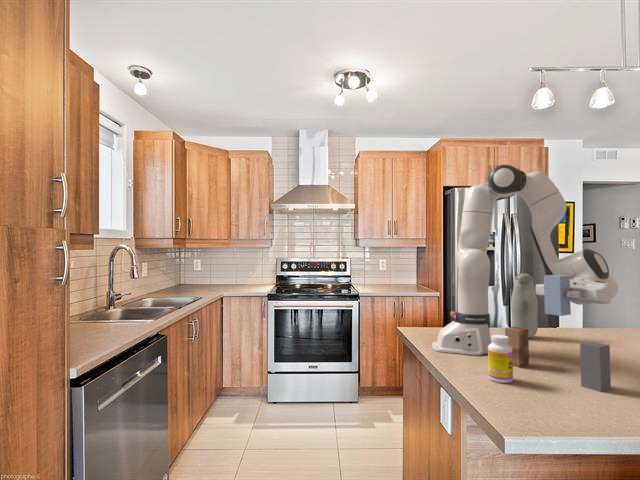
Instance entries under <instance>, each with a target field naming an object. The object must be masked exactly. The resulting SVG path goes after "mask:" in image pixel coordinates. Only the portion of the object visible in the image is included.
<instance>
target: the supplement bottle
mask: <svg viewBox="0 0 640 480" xmlns="http://www.w3.org/2000/svg"><path fill="white" fill-rule="evenodd" d="M490 338H491V344H489V346H488V353H487V368H488V369H487V372H488V373H487V376H488V379H489V380H490V381H492V382H495V383H499V384H509V383H512V382H513V379H514V366H513V352H512V348H511V346H509V345H508V341H509V337H507V336H505V334H492V335H490Z"/></svg>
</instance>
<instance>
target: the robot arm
mask: <svg viewBox="0 0 640 480" xmlns="http://www.w3.org/2000/svg"><path fill="white" fill-rule="evenodd" d="M515 195H517V196H519V197H521V199H523V201H524V202H525V203H526V205H527V207H528V208H529V211H530V214H531V223H530V225H529V226H530V227H529V229H530V233H531V236H532V238H533V241H534V244H535V247H536V249H537V251H538V255H539V257H540V260H541V262H542V266H543V269H544V274H545V275H566V276H570V291H564V297H570V303H573V304H574V305H591V304H602V305H603V304H607V305H608V304H611V301H612V299H613V298H614V297H616V295H617V294H618V290H619V284H618V283H617V281H616V280H615V279H614V278H613V277H611V276H610V274H609V273H610V269H609V266H608V263H607V261H606V260H605V258H604V257H603V256H602V254H600V253H599V252H597V251H595V250H592V249H588V248H584V249H582V250H578V251H577V252H574V253H572V254H570V255H567V256H564V257H561V258H559V257H558V255H557V253H556V250H555V247H554V244H553V242H552V239H551V234H552V231H553V229H554V228H555V227H556V226H557V225H558V224H559V223H560V222H561V221H562V219H563V218H564V216H565V214H566V212H567V203H566V200H565V198H564V196H563V195H562V193H561V192H560V190H559V188H558V187H557V186H556V184H555V182H553V181H552V179H551V178H550V177H549V176H548V175H547V174H546V173H545V172H543V171H540V170H536V171H532V172H529V173H527V174H526V172H524V171H523V170H521V169H519V168H516V167H515V166H512V165H510V164H500V165H498V166H496V167H494V168H493V169H492V170H491V171H490V172H489V174H488V178H487V182H485V183H483V184H475V185H472V186H470V187H469V188H468V189H467V191H466V194H465V198H464V202H463V207H462V213H461V223H460V231H459V238H458V244H457V250H456V251H457V252H456V258H455V264H456V268H457V269H458V271H457V273H458V275H457V276H458V279H457V311H456V312H455V311H451V312H450V316H451V319H452V321H451V322H449V323H447V324H446V325H445V326H444V327H442V328H441V329H440V330H439V331H438V336H437V340H434V341H433V342H432V344H431V347H432V349H433V350H434V351H435V352H439V353H451V354H459V355H470V356H482V355H484V354H485V355H486V354H488V346H489V344H491V343H492V340H491V332H490V328H491V315H490V312H489V287H490V286H489V285H490V276H491V275H490V274H491V260H490V257H489V256H488V254H487V253H488V246H489V243H490V238H491V235H492V233H491V232H492V227H493V225H492V224H493V217H494V206H495V202H497V201H501V200H506V199H509V198H512V197H513V196H515ZM535 293H536V296H544V283H538V284H535Z"/></svg>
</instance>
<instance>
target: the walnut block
mask: <svg viewBox="0 0 640 480" xmlns="http://www.w3.org/2000/svg"><path fill="white" fill-rule="evenodd" d="M504 336H507V337H509V341H508V345H509V346H511V348H512V352H513V367H515V368H518V369H519V368H524V367H528V366H530V347H529V345H530V343H529V342H530V341H529V340H530V338H529V336H528V329H524V328H519V327H512V326H511V327H509V326H508V327H505V328H504Z"/></svg>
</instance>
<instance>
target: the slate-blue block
mask: <svg viewBox="0 0 640 480" xmlns="http://www.w3.org/2000/svg"><path fill="white" fill-rule="evenodd" d="M543 284H544V299H543V300H544V314H546V315H551V316H559V317H563V316H569V315H570V316H571V314H572V313H571V311H572V310H571V301H570V297H564V291H570V276H566V275H543Z"/></svg>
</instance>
